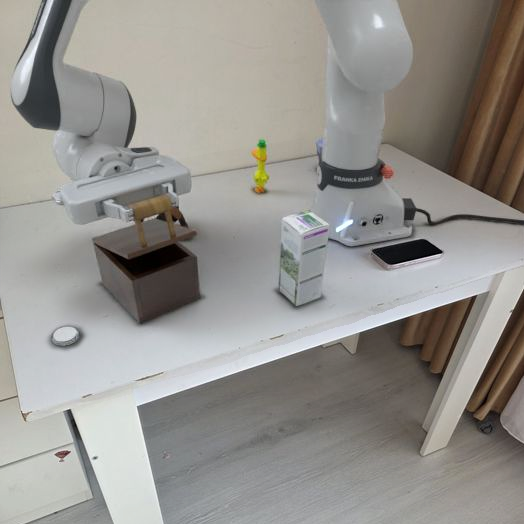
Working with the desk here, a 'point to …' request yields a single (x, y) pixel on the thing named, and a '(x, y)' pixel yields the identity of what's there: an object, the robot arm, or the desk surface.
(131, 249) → the chest lid
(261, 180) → the toy figure
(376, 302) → the desk surface
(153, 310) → the box
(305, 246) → the syrup box
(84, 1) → the robot arm
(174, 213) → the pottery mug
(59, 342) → the white flat disc
